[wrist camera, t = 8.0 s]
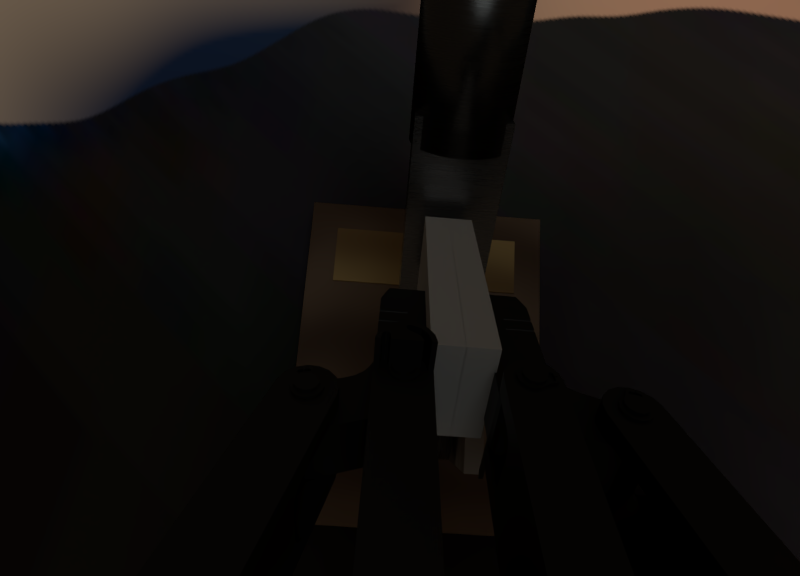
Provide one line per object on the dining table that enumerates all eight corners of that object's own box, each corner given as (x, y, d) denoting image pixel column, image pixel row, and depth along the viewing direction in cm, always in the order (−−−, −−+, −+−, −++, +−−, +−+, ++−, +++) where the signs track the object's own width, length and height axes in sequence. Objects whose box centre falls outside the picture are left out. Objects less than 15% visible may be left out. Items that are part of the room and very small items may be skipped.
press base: (526, 529, 27) (576, 572, 20) (285, 513, 27) (253, 552, 20) (529, 231, 31) (572, 183, 24) (318, 214, 30) (301, 161, 24)
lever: (449, 476, 24) (568, -86, 12) (381, 472, 23) (430, -98, 12) (445, 423, 26) (539, -79, 14) (384, 419, 26) (427, -90, 14)
